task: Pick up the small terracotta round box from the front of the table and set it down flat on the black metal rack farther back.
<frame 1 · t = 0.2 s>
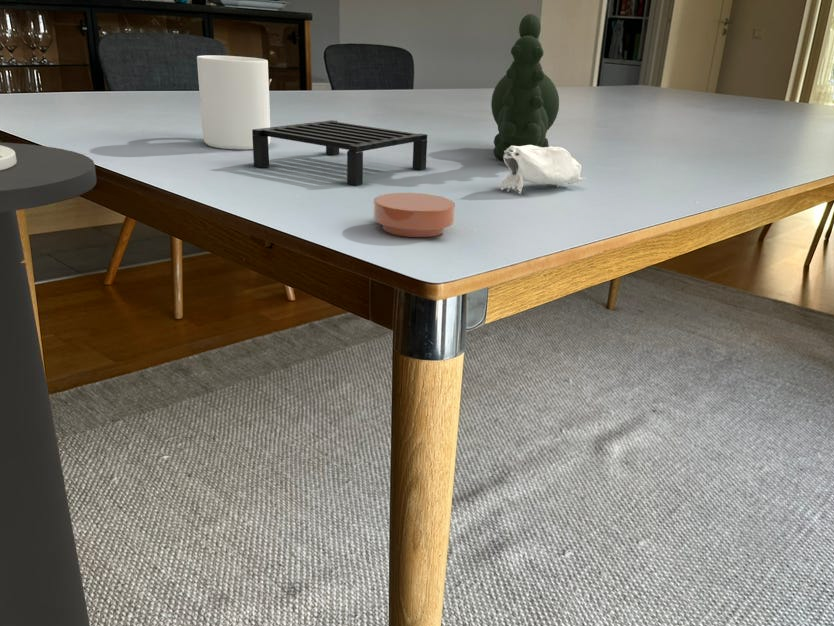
mug: (231, 144, 99), on the table
toy figurine: (519, 158, 105), on the table
white lumpy oblong piece: (540, 190, 85), on the table
terracotta round box: (413, 229, 65), on the table
rack: (342, 167, 88), on the table
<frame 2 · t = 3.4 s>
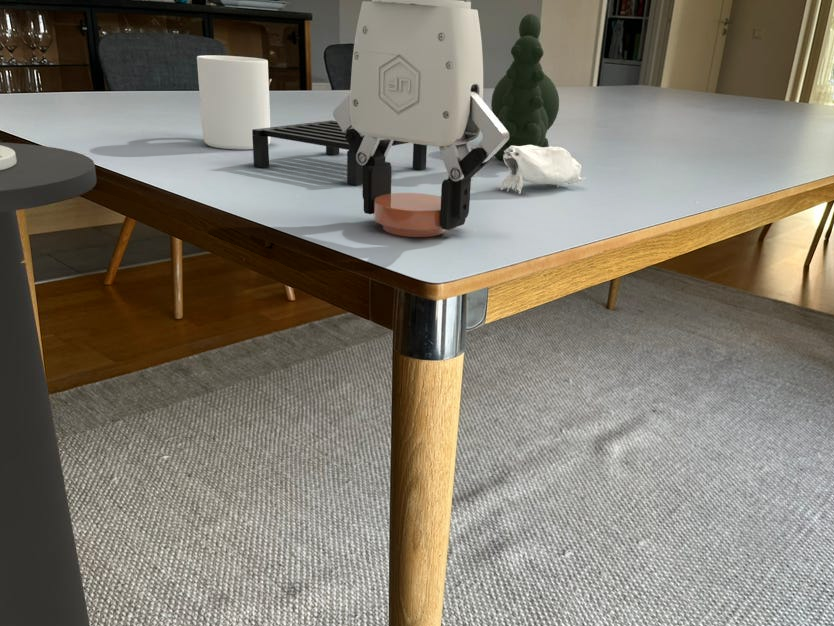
hand: (414, 217, 65), 1 cm above the table, tool pointing down, fingers closed on terracotta round box, 6 cm apart
terracotta round box: (413, 229, 65), on the table, touching gripper
everything else where it was.
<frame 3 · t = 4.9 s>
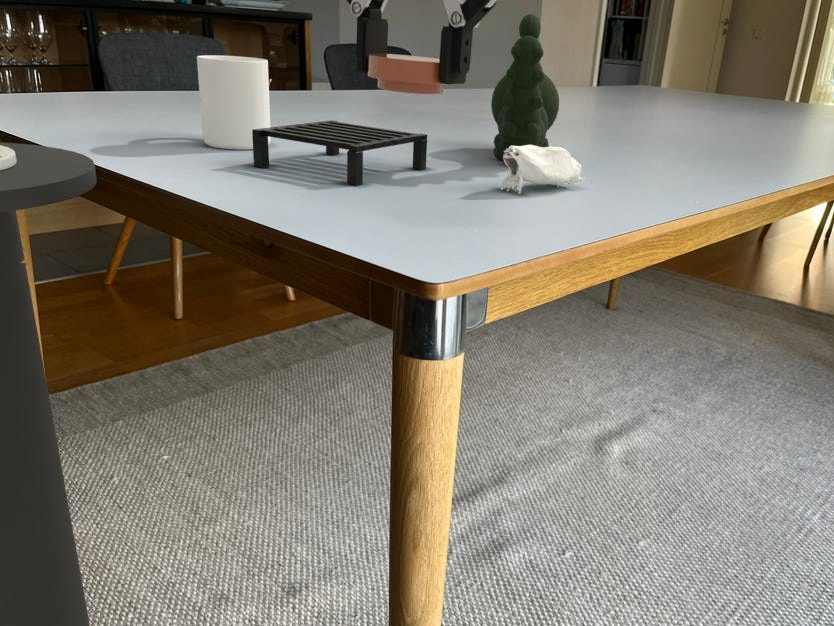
hand: (411, 75, 60), 12 cm above the table, tool pointing down, fingers closed on terracotta round box, 6 cm apart
terracotta round box: (410, 90, 61), point 11 cm above the table, touching gripper
everything else where it was.
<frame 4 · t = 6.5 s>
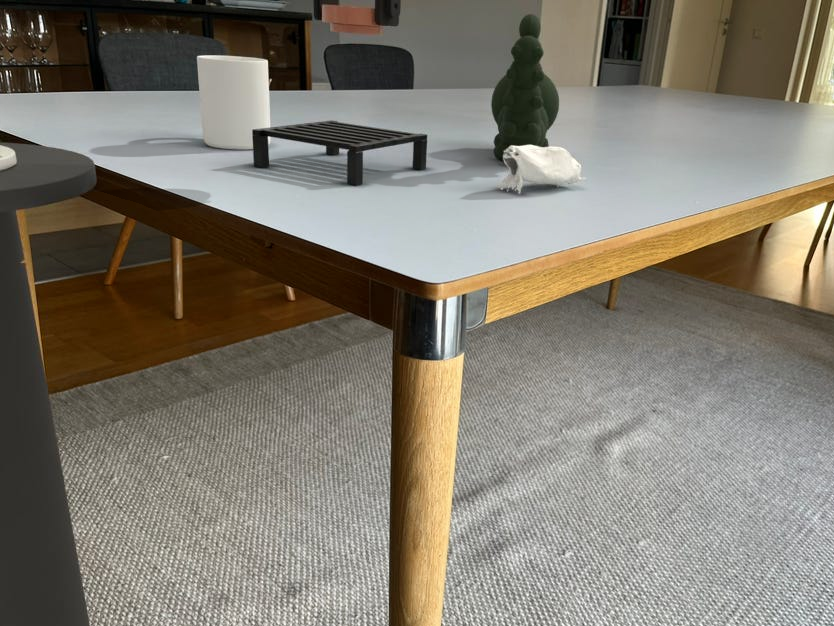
hand: (356, 21, 77), 16 cm above the table, tool pointing down, fingers closed on terracotta round box, 6 cm apart
terracotta round box: (356, 33, 77), point 15 cm above the table, touching gripper
everything else where it was.
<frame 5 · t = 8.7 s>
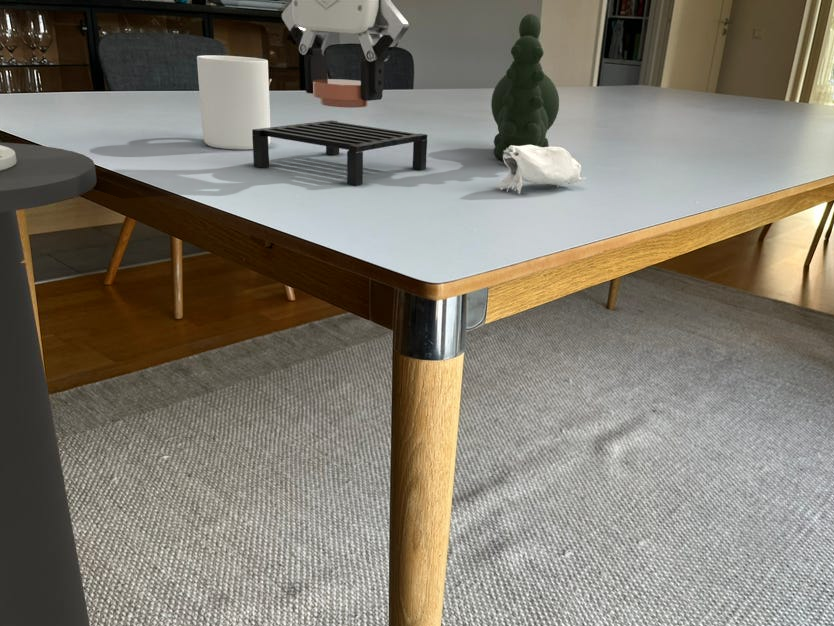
hand: (343, 94, 85), 8 cm above the table, tool pointing down, fingers closed on terracotta round box, 6 cm apart
terracotta round box: (344, 104, 86), point 7 cm above the table, touching gripper
everything else where it was.
when the fingers open (5 cm above the table, at t = 10.1 s): terracotta round box stays where it is, resting on rack.
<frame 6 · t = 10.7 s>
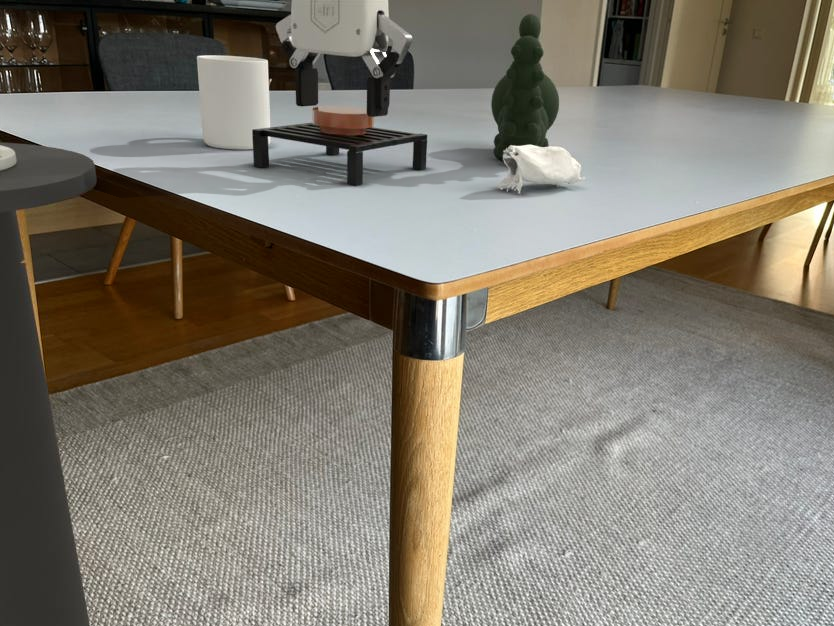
hand: (341, 110, 86), 6 cm above the table, tool pointing down, fingers open, 9 cm apart
terracotta round box: (343, 131, 87), point 4 cm above the table, touching rack
everything else where it was.
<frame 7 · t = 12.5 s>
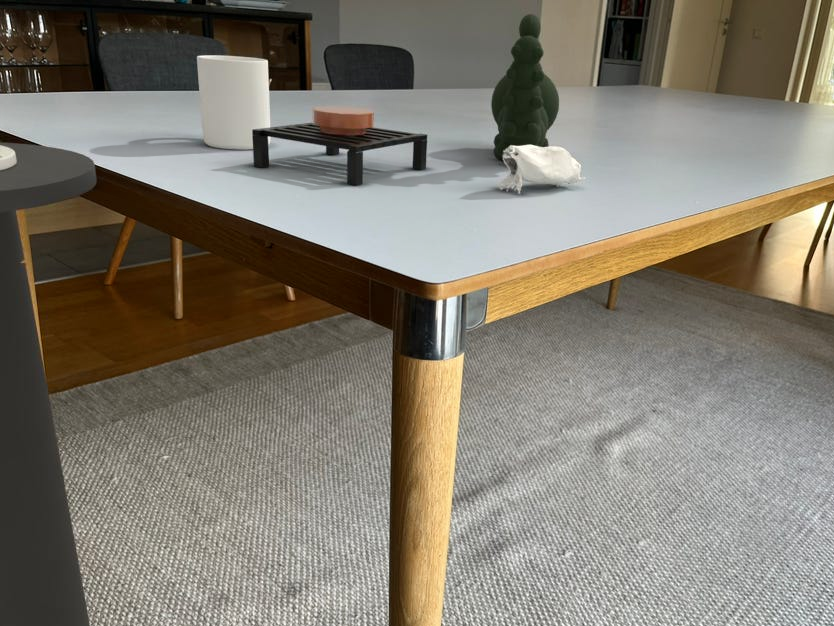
nothing on the table moved.
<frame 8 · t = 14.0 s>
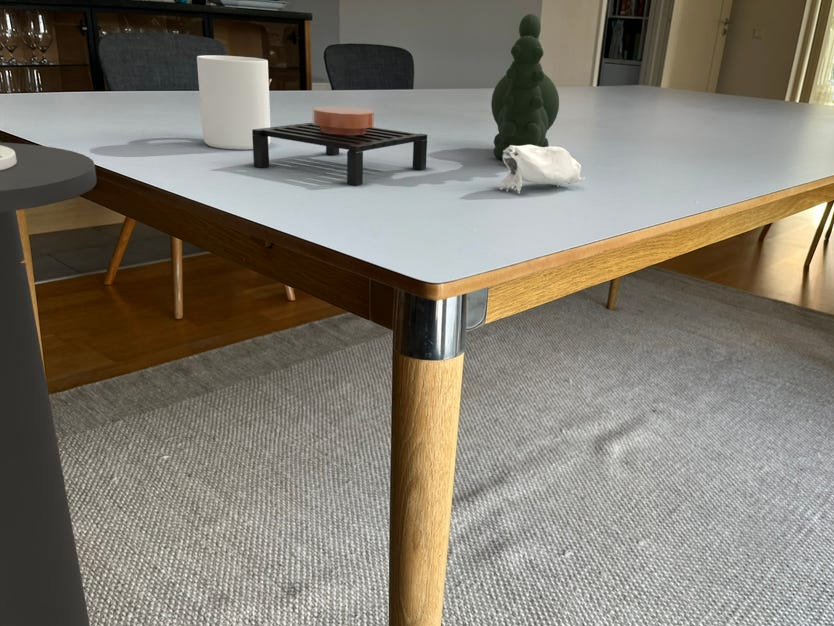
nothing on the table moved.
at the end: terracotta round box inside the target area on the rack (0.1 cm from its centre), point 4.0 cm above the rack's base; terracotta round box tilted 0°; the gripper is holding nothing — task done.
